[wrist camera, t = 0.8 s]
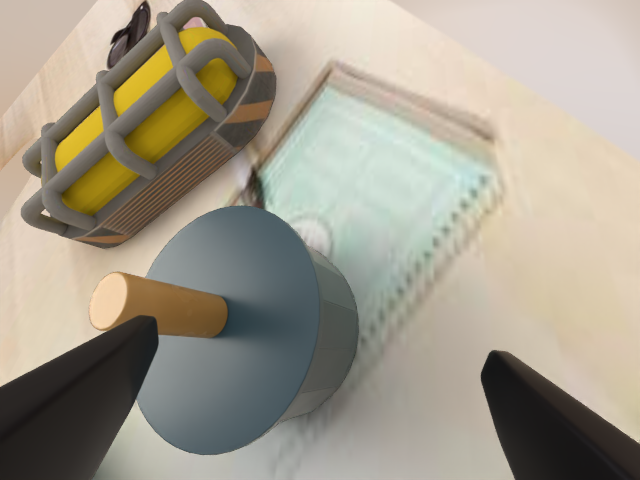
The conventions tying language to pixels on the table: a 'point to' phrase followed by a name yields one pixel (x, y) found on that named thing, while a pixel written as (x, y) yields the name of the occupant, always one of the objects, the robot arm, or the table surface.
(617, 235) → the table surface
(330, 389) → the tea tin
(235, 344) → the lid
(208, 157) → the cage light
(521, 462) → the robot arm
